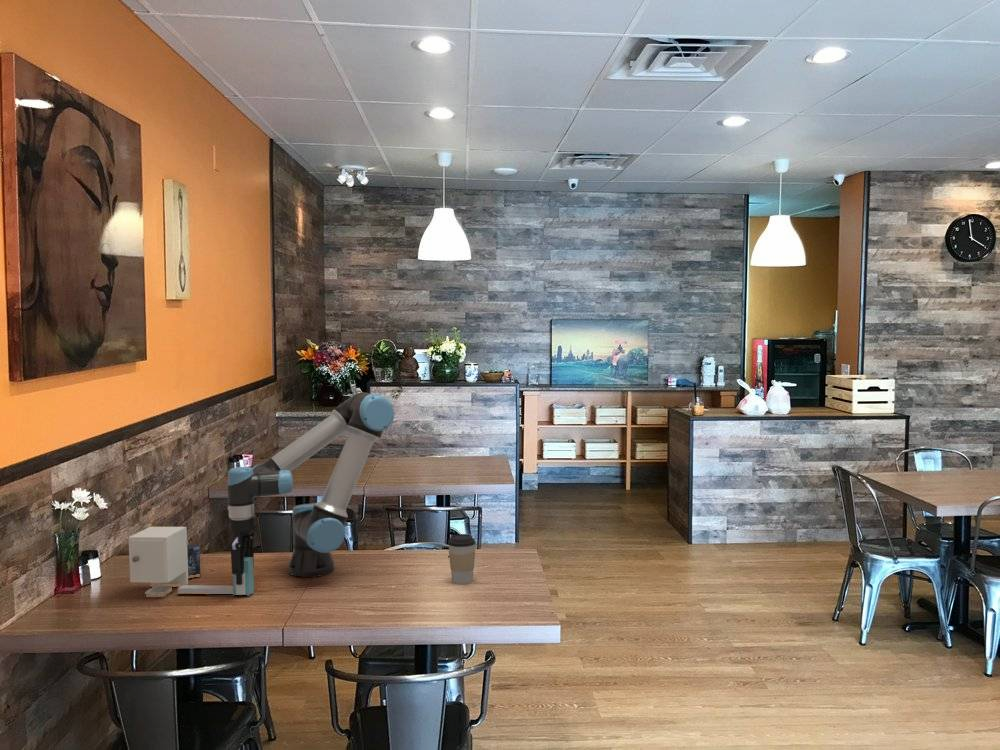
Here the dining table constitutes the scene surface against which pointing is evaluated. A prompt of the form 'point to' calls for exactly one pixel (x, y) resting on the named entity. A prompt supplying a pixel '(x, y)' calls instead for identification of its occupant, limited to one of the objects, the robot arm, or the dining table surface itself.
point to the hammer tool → (225, 589)
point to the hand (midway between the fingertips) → (243, 591)
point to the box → (193, 559)
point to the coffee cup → (462, 558)
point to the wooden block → (158, 590)
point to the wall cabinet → (159, 555)
